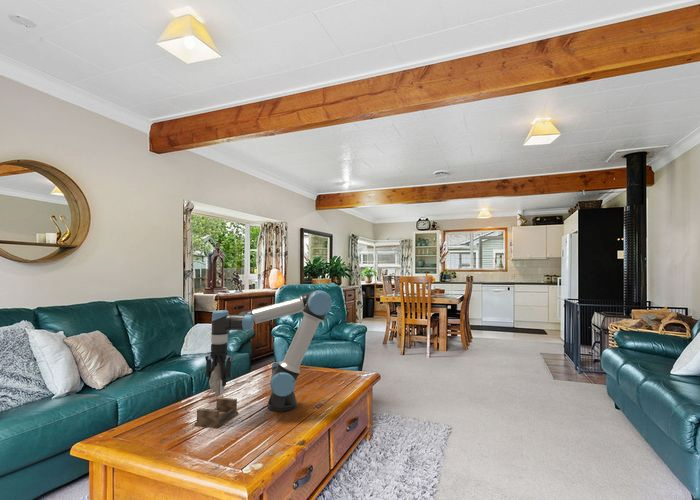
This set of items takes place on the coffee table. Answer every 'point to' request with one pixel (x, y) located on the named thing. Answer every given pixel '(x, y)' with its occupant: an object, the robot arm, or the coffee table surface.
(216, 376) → the stone tool
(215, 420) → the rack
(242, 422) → the coffee table surface
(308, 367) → the coffee table surface
